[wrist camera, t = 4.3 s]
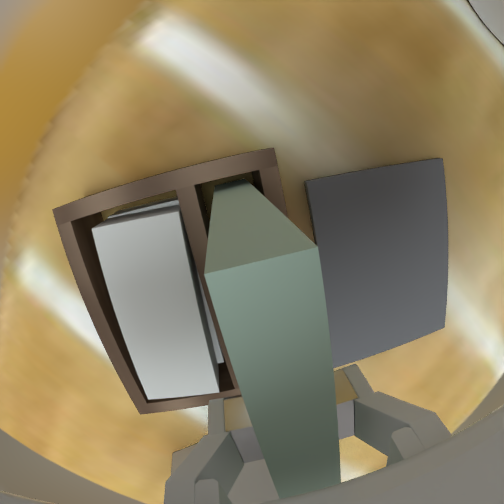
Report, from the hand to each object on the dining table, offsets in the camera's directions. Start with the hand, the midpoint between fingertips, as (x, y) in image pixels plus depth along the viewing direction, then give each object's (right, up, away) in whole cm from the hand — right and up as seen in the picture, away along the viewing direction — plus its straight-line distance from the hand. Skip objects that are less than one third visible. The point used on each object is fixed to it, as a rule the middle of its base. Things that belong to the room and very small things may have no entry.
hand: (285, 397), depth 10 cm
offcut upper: (-7, +2, +11) cm, 13 cm away
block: (-1, +4, +13) cm, 13 cm away
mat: (+10, +4, +15) cm, 18 cm away
